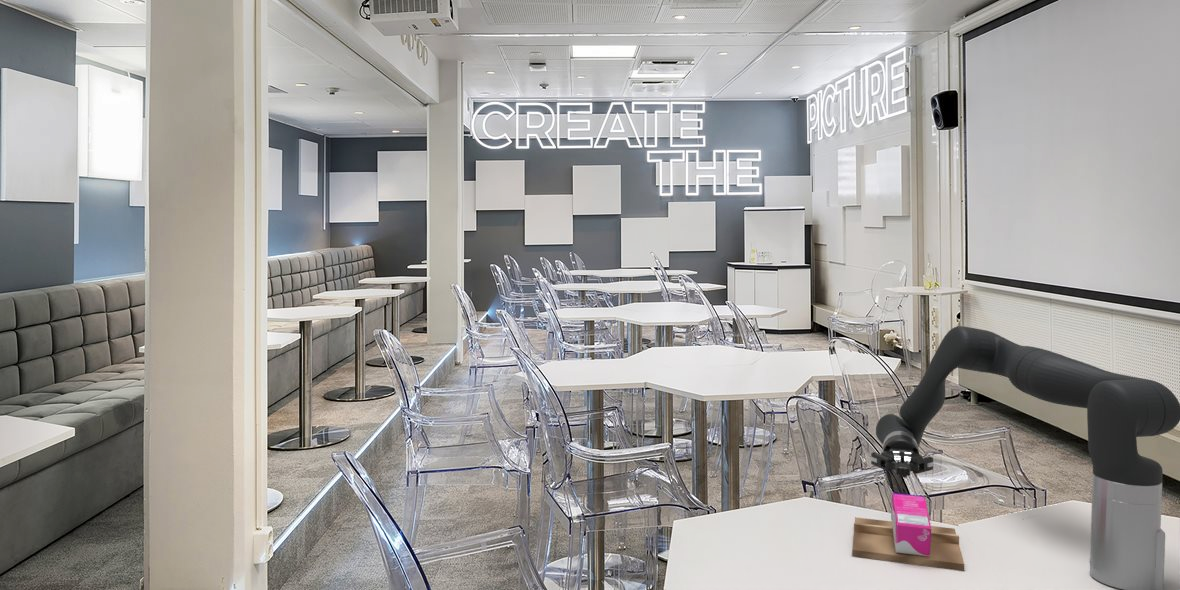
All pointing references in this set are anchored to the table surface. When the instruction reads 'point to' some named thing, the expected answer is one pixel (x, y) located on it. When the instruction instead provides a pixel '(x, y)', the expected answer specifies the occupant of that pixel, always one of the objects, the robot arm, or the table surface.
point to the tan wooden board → (879, 544)
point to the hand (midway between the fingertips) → (903, 472)
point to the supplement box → (910, 524)
